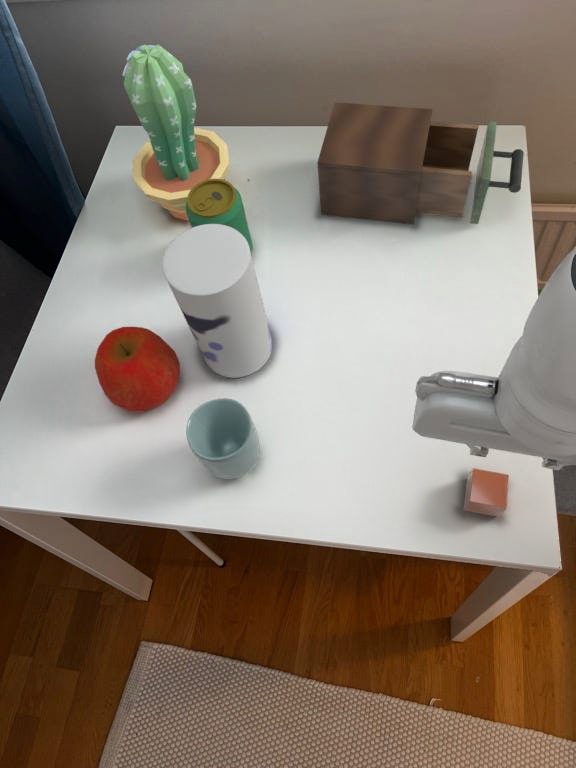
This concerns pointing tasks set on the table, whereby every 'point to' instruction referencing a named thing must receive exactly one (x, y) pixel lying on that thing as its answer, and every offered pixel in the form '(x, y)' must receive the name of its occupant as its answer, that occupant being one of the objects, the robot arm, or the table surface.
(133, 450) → the table surface
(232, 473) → the cup
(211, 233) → the container
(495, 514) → the block
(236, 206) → the beverage can
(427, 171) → the drawer
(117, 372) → the apple
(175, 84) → the potted cactus
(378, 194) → the cabinet
